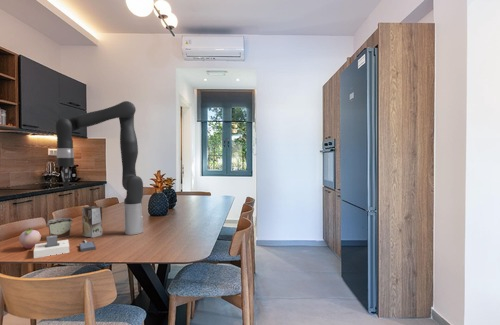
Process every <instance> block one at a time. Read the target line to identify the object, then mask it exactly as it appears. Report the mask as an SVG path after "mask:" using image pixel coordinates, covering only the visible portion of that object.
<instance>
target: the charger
mask: <svg viewBox="0 0 500 325" xmlns="http://www.w3.org/2000/svg"><path fill="white" fill-rule="evenodd" d="M57 241H58V239H57V235H54V236H50V235H47V236H46V243H47V247H53V246H57Z"/></svg>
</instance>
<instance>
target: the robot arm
mask: <svg viewBox="0 0 500 325" xmlns="http://www.w3.org/2000/svg"><path fill="white" fill-rule="evenodd" d="M136 111H137V110H136V106H135V104H134V103H132V102H130V101H127V100H125V101H122V102H120V103H117V104H115V105H113V106H110V107H106V108H103V109H99V110H94V111H90V112H86V113H82V114H78V115H76V116H74V117H71V118H65V117H61V118H59V119H57V121H56V123H55V132H56V166H57V167H62V169H61V171H60V172H61V178H62V183H63V184H62V185H63V186H62V187H63V189H65V190H69V189H70V181H71V180H70V179H71V169H70V168H69V167H74V166H75V152H74V142H73V132H74V131H78V130H79V129H83V128H84V129H85V128H89V127H92V126H95V125H99V124H102V123H105V122H107V121H110V120H113V119H118V120H119V126H120V132H119V147H120V157H121V166H122V174H121V176H122V179H121V184H122V187H123V190H125V191H126V196H125V198H124V202H123V203H124V204H123V206H124V210H123V211H124V234H125V235H127V236H128V235H138V234H142V233H144V217H143V215H142V213H143V211H142V210H143V209H142V206H143V205H142V200H143V197H144V181H143V179H142V178H141V177H140V176H138V175H137V171H136V166H137V165H136V163H137V159H138V155H139V147H138V138H137V135H136V131H135V125H134V124H135V120H134V119H135V113H136Z"/></svg>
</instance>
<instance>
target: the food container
mask: <svg viewBox="0 0 500 325" xmlns="http://www.w3.org/2000/svg"><path fill="white" fill-rule="evenodd" d="M72 222H73V218H72V217H59V218H54V219H50V220H48V221H47V222H46V223H47V224H46V226H47V227H48V232H49V236H54V235H57V240H60V239H64V238H67V237H71V229H72Z"/></svg>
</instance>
